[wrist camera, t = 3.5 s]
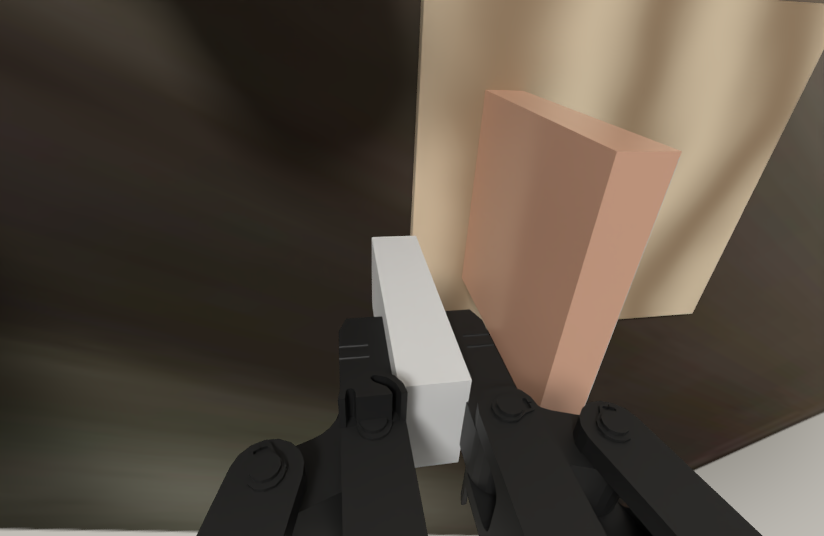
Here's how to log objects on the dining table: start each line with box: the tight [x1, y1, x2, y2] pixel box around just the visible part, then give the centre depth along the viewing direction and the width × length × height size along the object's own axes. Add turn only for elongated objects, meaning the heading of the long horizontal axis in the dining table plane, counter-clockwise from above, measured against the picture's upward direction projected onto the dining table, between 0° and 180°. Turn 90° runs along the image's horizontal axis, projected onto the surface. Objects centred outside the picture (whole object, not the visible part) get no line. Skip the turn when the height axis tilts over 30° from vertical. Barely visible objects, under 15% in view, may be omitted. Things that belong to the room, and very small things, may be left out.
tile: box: [462, 90, 682, 415], centre depth 17 cm, size 2×10×10 cm, turn 177°
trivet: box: [410, 0, 824, 330], centre depth 22 cm, size 20×18×1 cm
